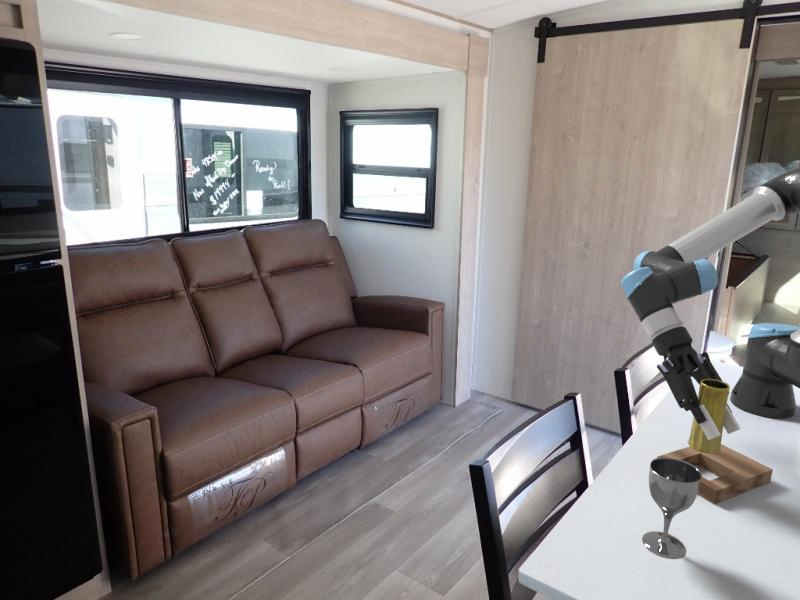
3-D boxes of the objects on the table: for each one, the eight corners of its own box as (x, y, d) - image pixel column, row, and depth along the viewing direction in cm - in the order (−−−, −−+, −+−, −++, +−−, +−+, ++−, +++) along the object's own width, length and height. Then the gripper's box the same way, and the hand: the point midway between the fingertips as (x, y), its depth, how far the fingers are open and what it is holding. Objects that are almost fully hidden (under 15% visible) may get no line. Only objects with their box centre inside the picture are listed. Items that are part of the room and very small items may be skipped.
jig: (709, 450, 133) (711, 439, 132) (770, 482, 121) (772, 469, 120) (655, 468, 125) (657, 456, 124) (713, 504, 113) (716, 490, 112)
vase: (724, 456, 116) (736, 391, 112) (692, 452, 117) (703, 388, 114) (715, 441, 122) (726, 379, 118) (684, 437, 123) (694, 376, 119)
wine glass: (667, 565, 96) (680, 487, 92) (629, 537, 103) (640, 463, 99) (698, 551, 100) (712, 475, 96) (660, 525, 107) (671, 453, 103)
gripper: (683, 335, 132) (739, 431, 122) (625, 346, 124) (679, 450, 114) (708, 319, 126) (768, 419, 116) (648, 330, 118) (708, 438, 108)
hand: (724, 434), depth 115 cm, fingers closed on vase, 5 cm apart
